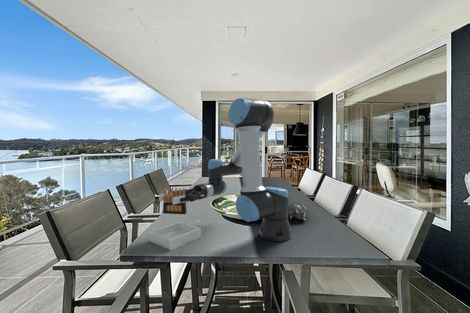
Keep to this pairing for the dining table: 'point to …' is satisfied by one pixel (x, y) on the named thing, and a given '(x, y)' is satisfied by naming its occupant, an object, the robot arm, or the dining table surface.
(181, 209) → the ammunition clip
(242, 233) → the dining table surface
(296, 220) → the dining table surface
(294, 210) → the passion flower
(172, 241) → the tray
